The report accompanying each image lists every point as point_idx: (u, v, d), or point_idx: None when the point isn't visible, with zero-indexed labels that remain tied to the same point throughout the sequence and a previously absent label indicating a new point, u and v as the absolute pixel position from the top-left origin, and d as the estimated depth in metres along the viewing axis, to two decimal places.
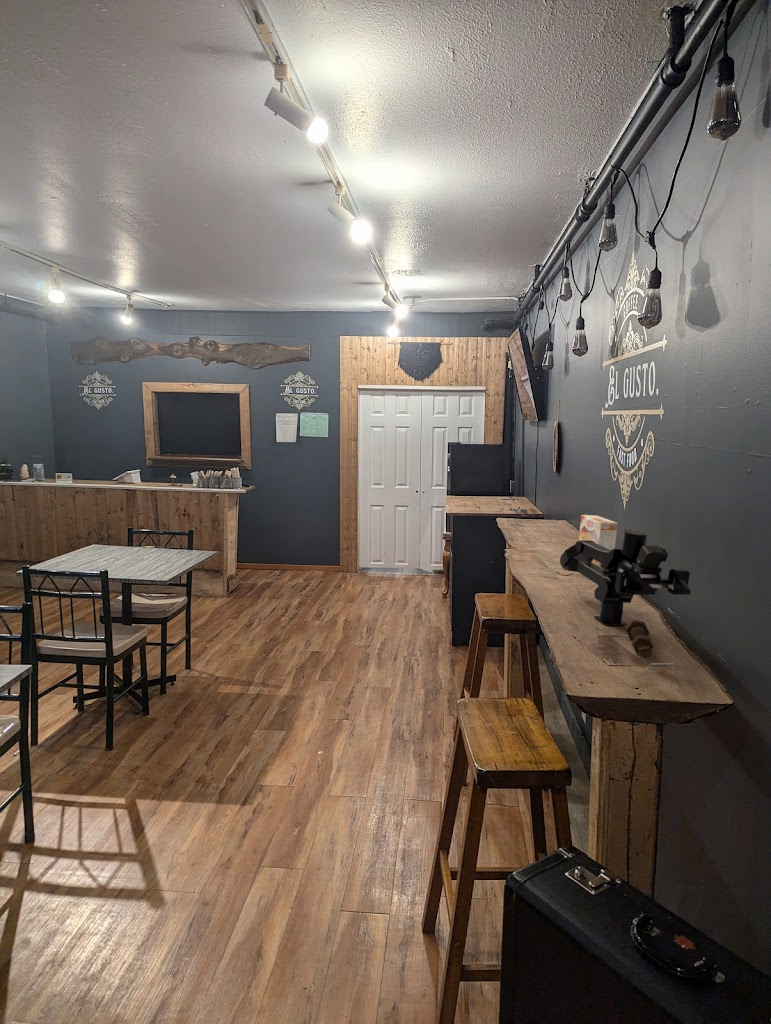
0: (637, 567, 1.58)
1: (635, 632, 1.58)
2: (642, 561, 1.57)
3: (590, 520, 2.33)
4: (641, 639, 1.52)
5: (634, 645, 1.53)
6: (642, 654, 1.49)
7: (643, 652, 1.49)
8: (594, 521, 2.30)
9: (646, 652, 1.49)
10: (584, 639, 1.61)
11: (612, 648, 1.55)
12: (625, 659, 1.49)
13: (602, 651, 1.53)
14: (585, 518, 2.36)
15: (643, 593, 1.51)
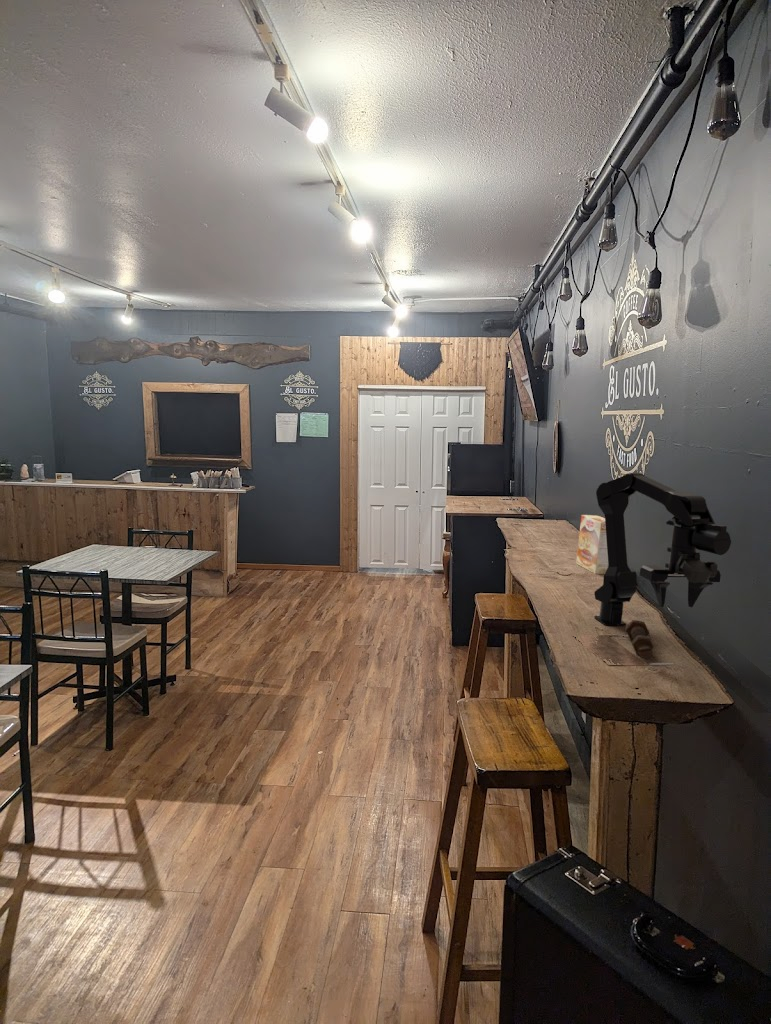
0: (677, 566, 1.51)
1: (635, 632, 1.58)
2: (684, 572, 1.49)
3: (590, 520, 2.33)
4: (641, 639, 1.52)
5: (634, 645, 1.53)
6: (642, 654, 1.49)
7: (643, 652, 1.49)
8: (594, 521, 2.30)
9: (646, 652, 1.49)
10: (584, 639, 1.61)
11: (612, 648, 1.55)
12: (625, 659, 1.49)
13: (602, 651, 1.53)
14: (585, 518, 2.36)
15: (656, 594, 1.56)
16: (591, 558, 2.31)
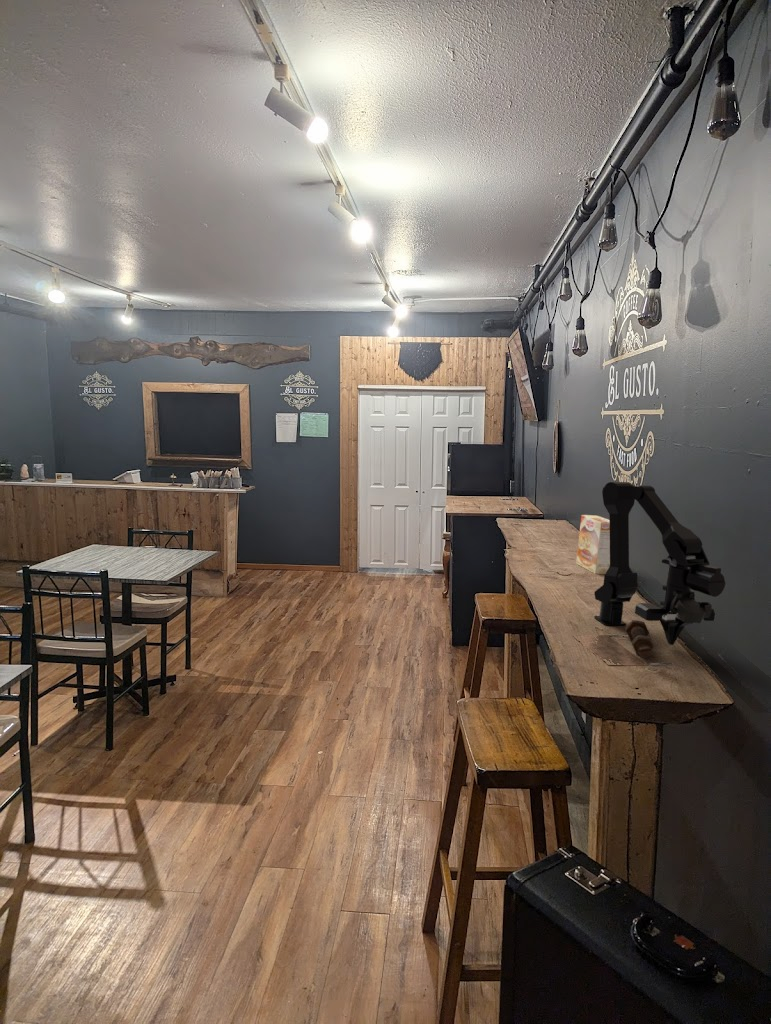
0: (672, 605, 1.52)
1: (635, 632, 1.58)
2: (678, 612, 1.51)
3: (590, 520, 2.33)
4: (641, 639, 1.52)
5: (634, 645, 1.53)
6: (642, 654, 1.49)
7: (643, 652, 1.49)
8: (594, 521, 2.30)
9: (646, 652, 1.49)
10: (584, 639, 1.61)
11: (612, 648, 1.55)
12: (625, 659, 1.49)
13: (602, 651, 1.53)
14: (585, 518, 2.36)
15: (664, 631, 1.58)
16: (591, 558, 2.31)
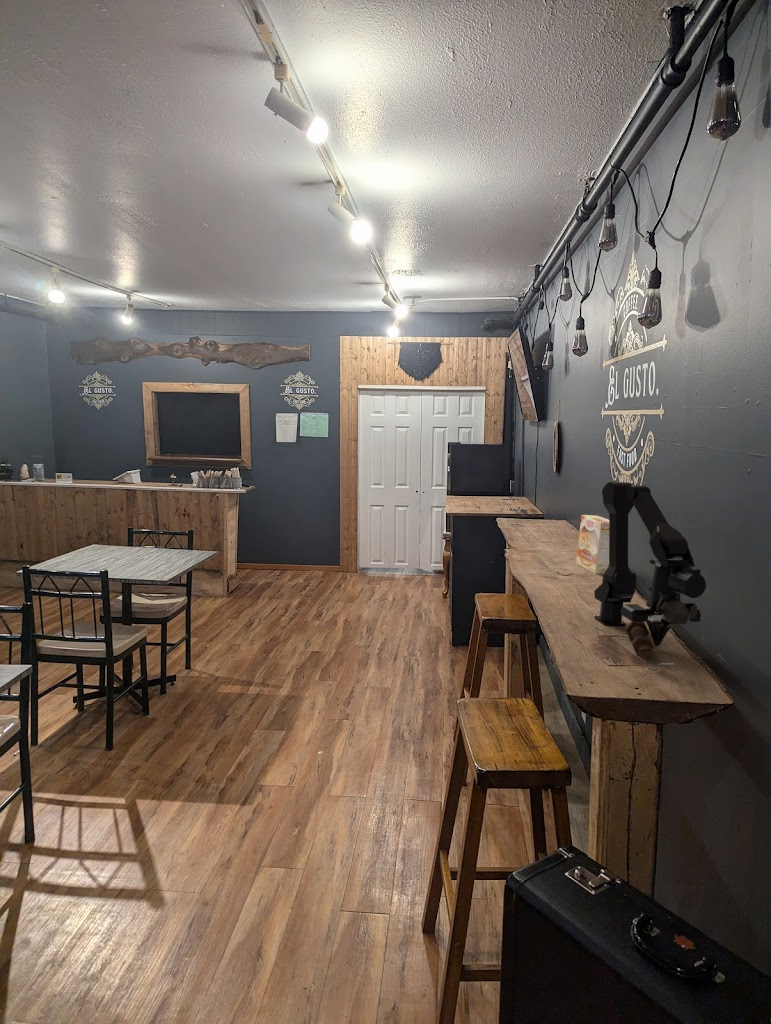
0: (658, 607, 1.52)
1: (635, 632, 1.58)
2: (664, 613, 1.50)
3: (590, 520, 2.33)
4: (641, 639, 1.52)
5: (634, 645, 1.53)
6: (642, 654, 1.49)
7: (643, 652, 1.49)
8: (594, 521, 2.30)
9: (646, 652, 1.49)
10: (584, 639, 1.61)
11: (612, 648, 1.55)
12: (625, 659, 1.49)
13: (602, 651, 1.53)
14: (585, 518, 2.36)
15: (650, 632, 1.57)
16: (591, 558, 2.31)
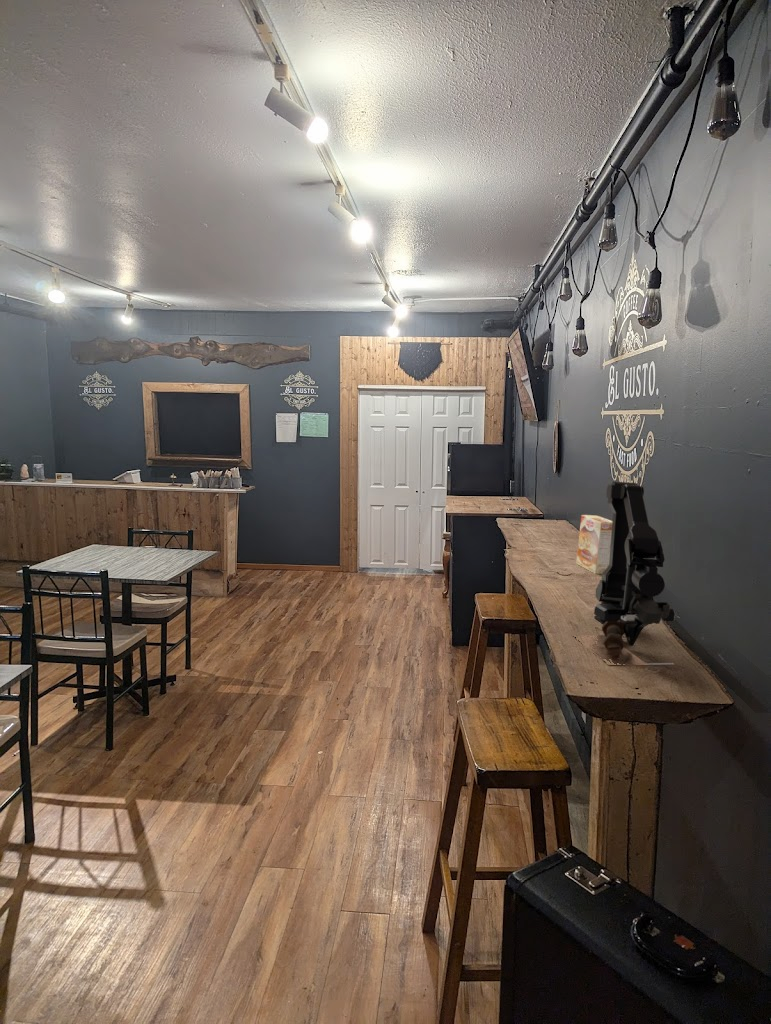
0: (630, 606, 1.50)
1: (609, 630, 1.58)
2: (636, 612, 1.49)
3: (590, 520, 2.33)
4: (612, 637, 1.52)
5: (605, 643, 1.53)
6: (611, 652, 1.49)
7: (612, 650, 1.49)
8: (594, 521, 2.30)
9: (615, 650, 1.49)
10: (584, 639, 1.61)
11: None
12: (625, 659, 1.49)
13: (602, 651, 1.53)
14: (585, 518, 2.36)
15: (624, 632, 1.56)
16: (591, 558, 2.31)
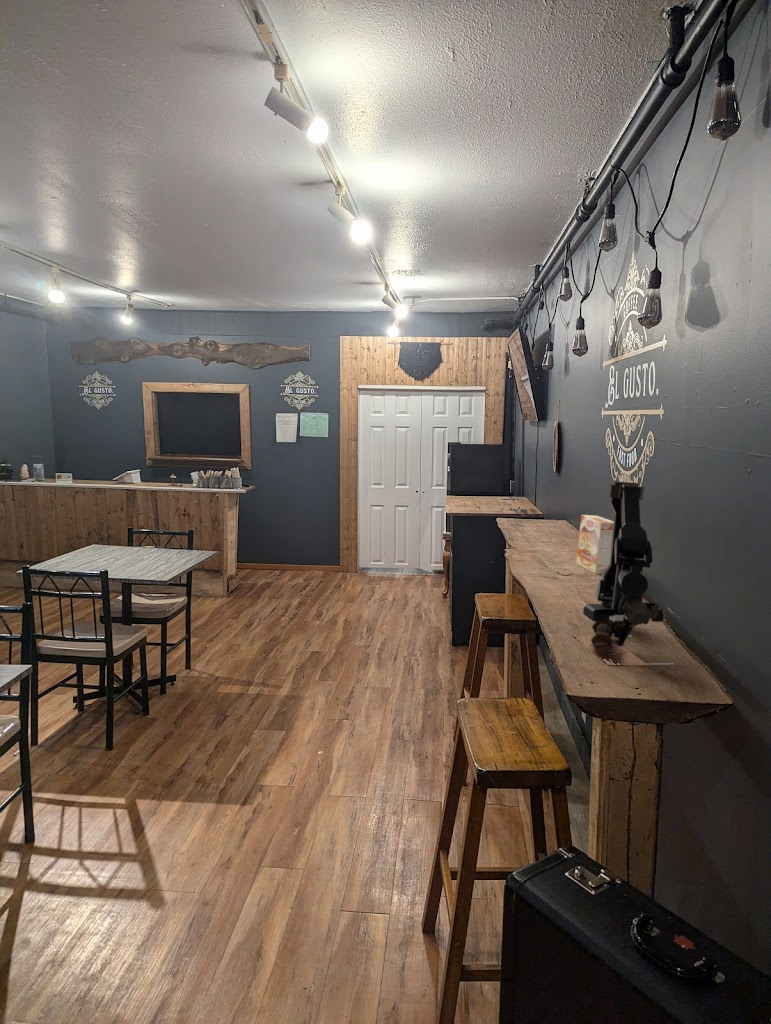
0: (619, 606, 1.50)
1: (599, 629, 1.59)
2: (625, 613, 1.48)
3: (590, 520, 2.33)
4: (599, 635, 1.53)
5: (593, 641, 1.54)
6: (598, 650, 1.50)
7: (598, 648, 1.50)
8: (594, 521, 2.30)
9: (602, 648, 1.50)
10: (584, 639, 1.61)
11: (612, 648, 1.55)
12: (625, 659, 1.49)
13: None
14: (585, 518, 2.36)
15: (613, 632, 1.56)
16: (591, 558, 2.31)
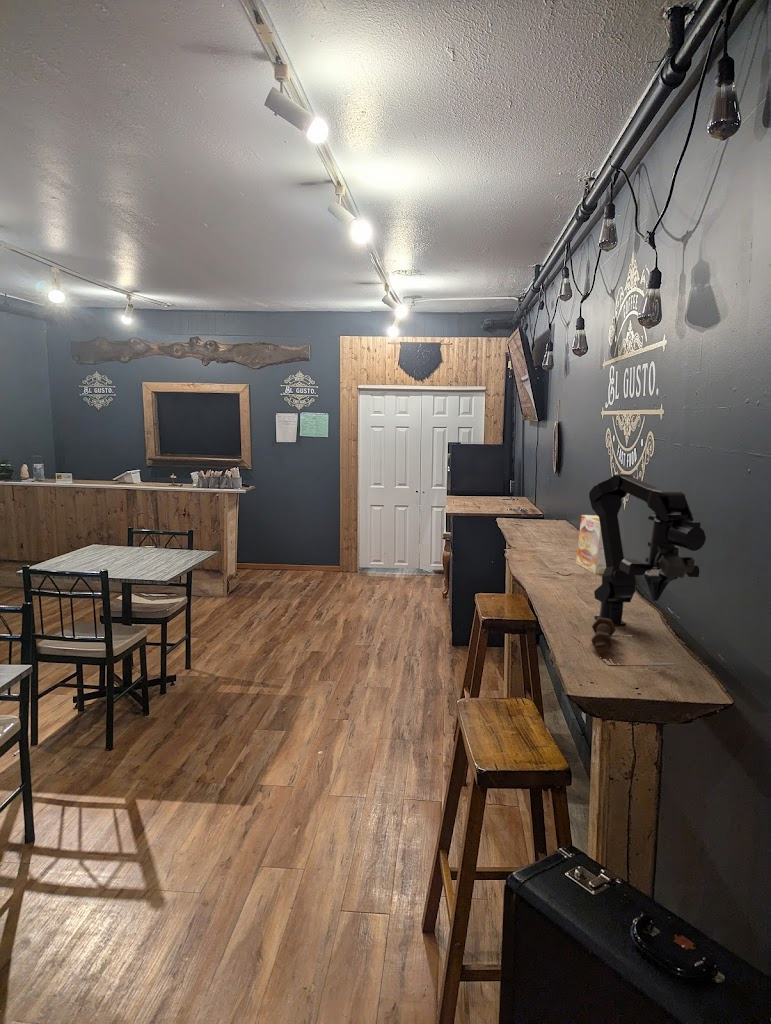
0: (655, 561, 1.54)
1: (598, 629, 1.59)
2: (661, 567, 1.52)
3: (590, 520, 2.33)
4: (600, 635, 1.53)
5: (593, 641, 1.54)
6: (598, 650, 1.50)
7: (599, 648, 1.50)
8: (594, 521, 2.30)
9: (602, 648, 1.50)
10: (584, 639, 1.61)
11: (612, 648, 1.55)
12: (625, 659, 1.49)
13: None
14: (585, 518, 2.36)
15: (649, 588, 1.60)
16: (591, 558, 2.31)
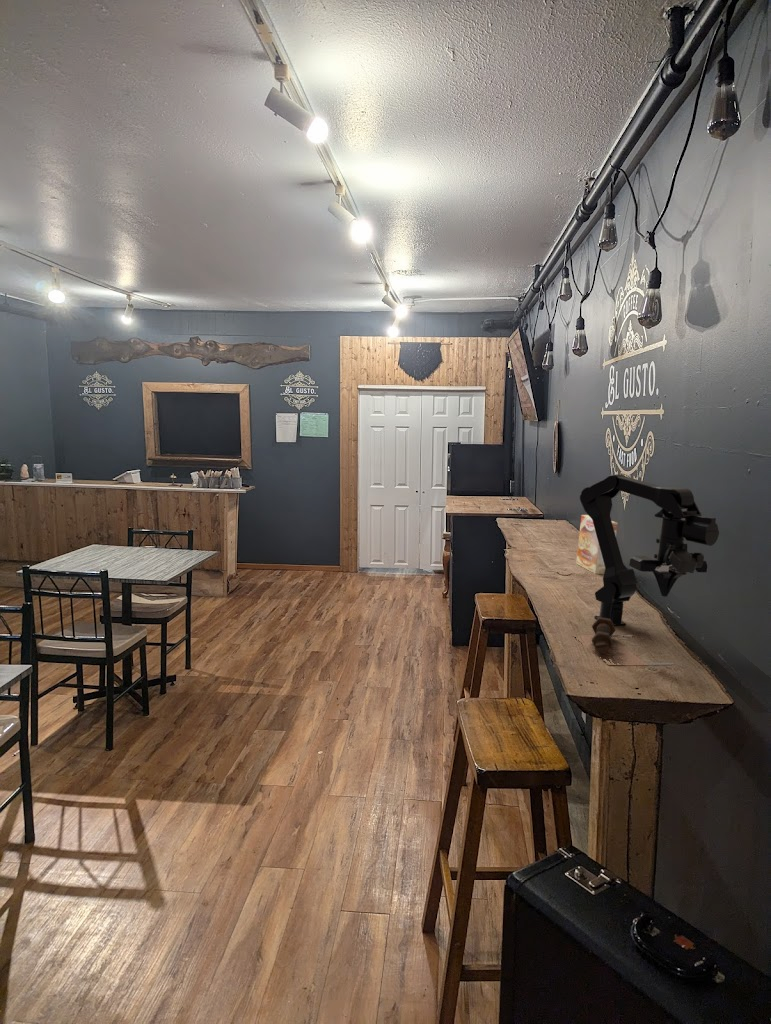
0: (665, 557, 1.57)
1: (599, 629, 1.59)
2: (671, 563, 1.55)
3: (590, 520, 2.33)
4: (600, 635, 1.53)
5: (593, 641, 1.54)
6: (599, 650, 1.50)
7: (599, 648, 1.50)
8: None
9: (602, 648, 1.50)
10: (584, 639, 1.61)
11: (612, 648, 1.55)
12: (625, 659, 1.49)
13: None
14: (585, 518, 2.36)
15: (658, 584, 1.62)
16: (591, 558, 2.31)
